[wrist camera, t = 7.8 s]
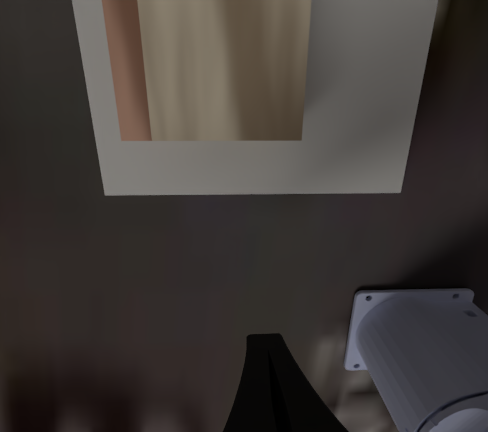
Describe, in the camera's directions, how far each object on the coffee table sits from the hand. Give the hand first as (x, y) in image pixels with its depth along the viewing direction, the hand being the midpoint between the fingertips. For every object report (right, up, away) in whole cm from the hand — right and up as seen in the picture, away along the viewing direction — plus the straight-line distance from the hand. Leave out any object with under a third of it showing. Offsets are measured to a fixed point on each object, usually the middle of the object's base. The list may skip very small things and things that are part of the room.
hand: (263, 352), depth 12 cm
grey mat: (0, +13, +6) cm, 14 cm away
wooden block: (+2, +13, +4) cm, 14 cm away
